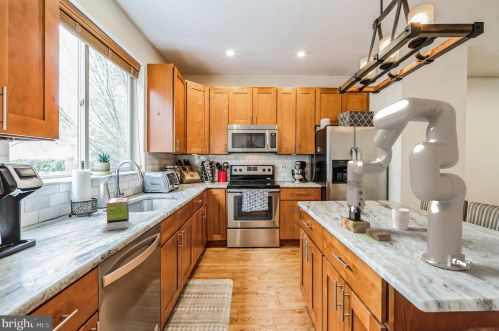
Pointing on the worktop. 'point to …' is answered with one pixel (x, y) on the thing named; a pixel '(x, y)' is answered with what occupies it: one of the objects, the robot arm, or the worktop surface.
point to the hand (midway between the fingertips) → (354, 218)
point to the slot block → (355, 225)
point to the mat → (371, 239)
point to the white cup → (400, 218)
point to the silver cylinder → (353, 214)
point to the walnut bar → (378, 234)
